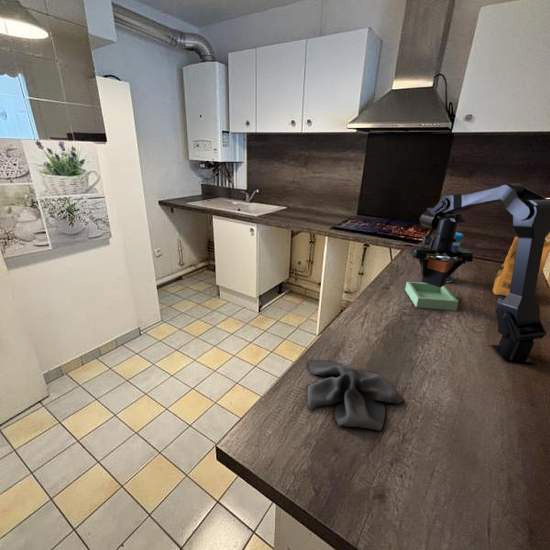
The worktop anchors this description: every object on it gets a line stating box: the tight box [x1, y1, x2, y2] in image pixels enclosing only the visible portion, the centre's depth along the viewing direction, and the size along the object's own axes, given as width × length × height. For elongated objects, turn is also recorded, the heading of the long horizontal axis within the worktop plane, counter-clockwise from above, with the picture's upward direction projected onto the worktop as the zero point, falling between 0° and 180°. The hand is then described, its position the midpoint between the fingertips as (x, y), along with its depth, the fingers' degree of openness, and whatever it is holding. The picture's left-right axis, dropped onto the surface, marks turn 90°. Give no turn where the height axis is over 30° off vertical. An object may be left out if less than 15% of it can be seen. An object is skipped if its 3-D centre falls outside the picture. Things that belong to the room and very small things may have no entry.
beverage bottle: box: [437, 231, 464, 284], centre depth 120 cm, size 8×8×20 cm
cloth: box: [307, 360, 403, 432], centre depth 63 cm, size 22×19×6 cm
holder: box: [404, 281, 460, 311], centre depth 105 cm, size 14×13×4 cm
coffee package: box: [491, 236, 550, 297], centre depth 107 cm, size 10×12×22 cm
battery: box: [421, 256, 451, 287], centre depth 101 cm, size 4×7×10 cm, turn 42°
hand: (434, 276), depth 102 cm, fingers closed on battery, 7 cm apart
